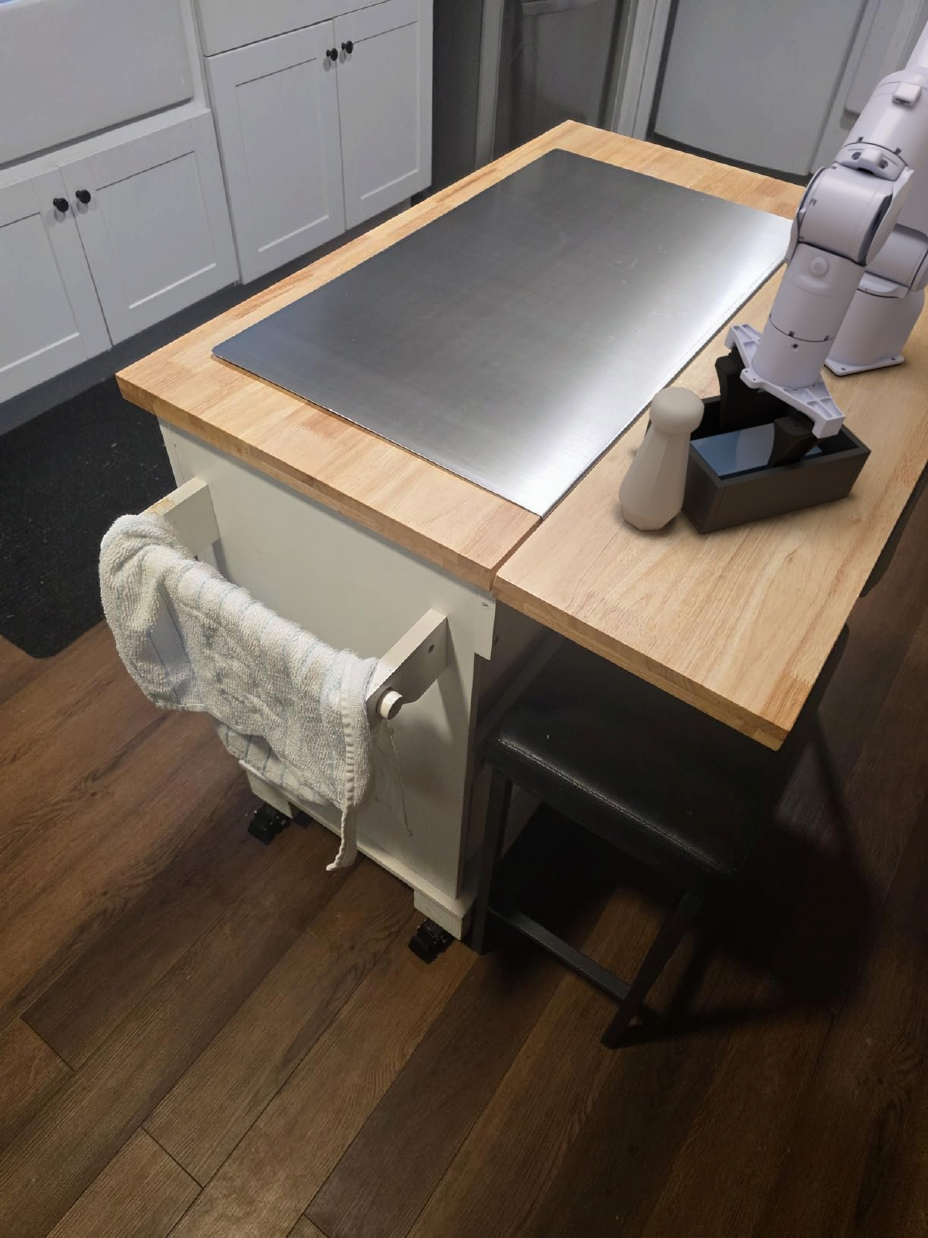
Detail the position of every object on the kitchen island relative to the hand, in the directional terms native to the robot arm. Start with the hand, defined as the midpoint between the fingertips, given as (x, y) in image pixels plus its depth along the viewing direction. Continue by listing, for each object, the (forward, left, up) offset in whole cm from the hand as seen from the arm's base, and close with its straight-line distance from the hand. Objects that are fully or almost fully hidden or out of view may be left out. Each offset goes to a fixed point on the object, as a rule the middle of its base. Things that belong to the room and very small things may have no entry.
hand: (751, 452), depth 83 cm
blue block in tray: (0, 0, -2) cm, 2 cm away
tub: (0, 0, -3) cm, 3 cm away
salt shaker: (+12, +2, -3) cm, 13 cm away
